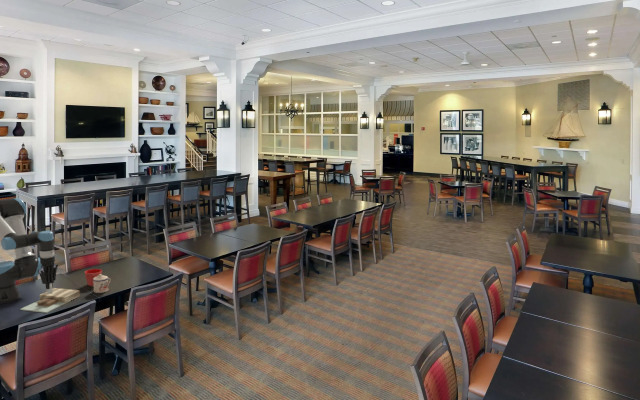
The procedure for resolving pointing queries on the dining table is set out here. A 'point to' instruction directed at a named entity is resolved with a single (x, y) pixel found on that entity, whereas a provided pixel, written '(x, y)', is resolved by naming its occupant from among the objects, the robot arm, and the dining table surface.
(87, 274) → the flower pot
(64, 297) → the birch deck
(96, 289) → the teacup with lid
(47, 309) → the sage mat
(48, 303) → the walnut tile
